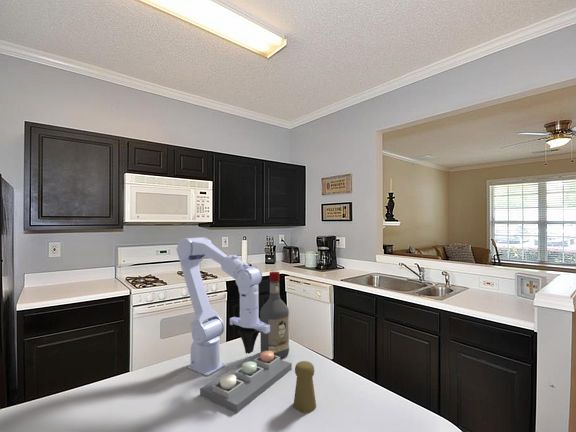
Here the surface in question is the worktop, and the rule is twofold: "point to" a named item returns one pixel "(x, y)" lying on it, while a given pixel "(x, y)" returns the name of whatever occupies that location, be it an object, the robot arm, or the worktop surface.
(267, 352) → the terracotta button
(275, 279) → the liquor
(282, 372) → the button panel
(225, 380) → the cream button
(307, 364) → the olive pawn
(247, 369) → the sage button
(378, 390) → the worktop surface
